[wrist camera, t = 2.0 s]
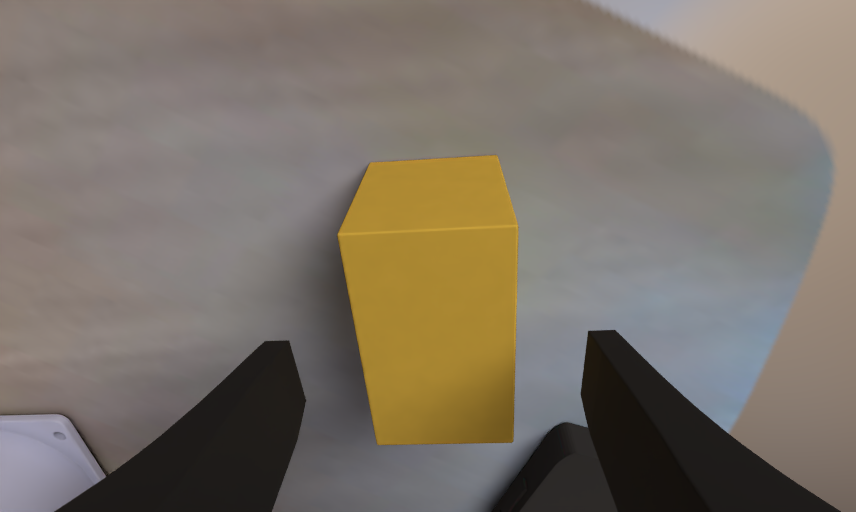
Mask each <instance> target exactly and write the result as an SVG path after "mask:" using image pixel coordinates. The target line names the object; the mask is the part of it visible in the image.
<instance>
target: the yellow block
mask: <svg viewBox="0 0 856 512" xmlns="http://www.w3.org/2000/svg"><path fill="white" fill-rule="evenodd" d="M337 237H338V242H339V247H340V253H341V258H342V263H343V268H344V274H345V279H346V284H347V289H348V295H349V300H350V305H351V310H352V316H353V321H354V326H355V331H356V337H357V342H358V347H359V352H360V358H361V363H362V368H363V373H364V379H365V384H366V389H367V395H368V400H369V405H370V410H371V416H372V421H373V426H374V431H375V437H376V442H377V445H407V444H463V443H512V442H513V437H514V394H515V351H516V307H517V264H518V223H517V220H516V217H515V213H514V210H513V207H512V203H511V200H510V197H509V193H508V190H507V186H506V183H505V180H504V176H503V173H502V170H501V166H500V163H499V160H498V156H497V155H490V156H473V157H457V158H440V159H424V160H407V161H391V162H374V163H370V164H369V166H368V168H367V170H366V173H365V175H364V177H363V179H362V181H361V184H360V186H359V188H358V190H357V192H356V195H355V197H354V199H353V201H352V203H351V206H350V208H349V210H348V212H347V214H346V217H345V219H344V221H343V223H342V225H341V228H340V230H339V232H338V234H337Z"/></svg>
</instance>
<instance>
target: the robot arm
mask: <svg viewBox="0 0 856 512" xmlns="http://www.w3.org/2000/svg"><path fill="white" fill-rule="evenodd" d="M581 398H582V402H583V407H584V411H585V416H586V420H587V424H588V428H589V432H590V436H591V439H592V442H593V445H594V447H595V450H596V453H597V456H598V459H599V461H600V464H601V467H602V470H603V472H604V475H605V478H606V481H607V483H608V486H609V489H610V492H611V494H612V497H613V500H614V503H615V505H616V508H617V511H618V512H841V511H839V510H838V509H836V508H834V507H833V506H831V505H830V504H828V503H826V502H825V501H823V500H822V499H820V498H819V497H817V496H816V495H814V494H813V493H811V492H809V491H808V490H807V489H805V488H803V487H802V486H800V485H798V484H797V483H796V482H794V481H793V480H791V479H790V478H788V477H787V476H785V475H784V474H782V473H781V472H780V471H778V470H777V469H775V468H774V467H773V466H771V465H770V464H768V463H767V462H766V461H764V460H763V459H762V458H760V457H759V456H757V455H756V454H755V453H753V452H752V451H751V450H749V449H748V448H746V447H745V446H744V445H742V444H741V443H740V442H738V441H737V440H736V439H734V438H733V437H732V436H731V435H729V434H728V433H727V432H726V431H724V430H723V429H722V428H721V427H719V426H718V425H717V424H716V423H715V422H713V421H712V420H711V419H710V418H709V417H707V416H706V415H705V414H704V413H703V412H701V411H700V410H699V409H698V408H697V407H696V406H694V405H693V404H692V403H691V402H690V401H689V400H688V399H686V398H685V397H684V396H683V395H682V394H681V393H680V392H679V391H678V390H677V389H676V388H674V387H673V386H672V385H671V384H670V383H669V382H668V381H667V380H666V379H665V378H664V377H663V376H662V375H660V374H659V373H658V372H657V371H656V370H655V369H654V368H653V367H652V366H651V365H650V364H649V363H648V362H647V361H646V360H645V359H644V358H643V357H642V356H641V355H640V354H639V353H638V352H637V351H636V350H635V349H634V348H633V347H632V346H631V345H630V344H629V343H628V342H627V341H626V340H625V339H624V338H623V337H622V336H621V335H620V334H619V333H618V332H616V331H615V330H602V331H588V337H587V346H586V354H585V362H584V371H583V379H582V388H581ZM305 403H306V399H305V395H304V392H303V388H302V385H301V381H300V378H299V374H298V370H297V367H296V363H295V360H294V356H293V353H292V349H291V346H290V342H289V341H265V342H264V343H263V344H261V345H260V346H259V347H258V348H257V349H256V350H255V351H254V352H253V353H252V354H251V355H249V356H248V357H247V358H246V359H245V360H244V361H243V362H242V363H241V364H240V365H239V366H238V367H237V368H236V369H235V370H234V371H233V372H232V373H231V374H230V375H228V376H227V377H226V378H225V379H224V380H223V381H222V382H221V383H220V384H219V385H218V386H217V387H216V388H215V389H213V390H212V391H211V392H210V393H209V394H208V395H207V396H206V397H205V398H204V399H203V400H202V401H200V402H199V403H198V404H197V405H196V406H195V407H194V408H192V409H191V410H190V411H189V412H188V413H187V414H185V415H184V416H183V417H182V418H181V419H180V420H178V421H177V422H176V423H175V424H174V425H173V426H171V427H170V428H169V429H168V430H167V431H166V432H164V433H163V434H162V435H161V436H160V437H158V438H157V439H156V440H155V441H153V442H152V443H151V444H150V445H148V446H147V447H146V448H145V449H143V450H142V451H141V452H139V453H138V454H137V455H135V456H134V457H133V458H131V459H130V460H129V461H127V462H126V463H125V464H123V465H122V466H121V467H119V468H118V469H117V470H115V471H114V472H112V473H111V474H110V475H108V476H107V477H106V475H105V474H104V472H103V471H102V469H101V468H100V466H99V465H98V463H97V461H96V460H95V458H94V457H93V455H92V454H91V452H90V451H89V449H88V447H87V446H86V444H85V443H84V441H83V440H82V438H81V437H80V435H79V434H78V432H77V430H76V429H75V427H74V426H73V424H72V423H71V421H70V420H69V419H68V418H67V417H65V416H63V415H60V414H40V415H0V512H272V509H273V506H274V503H275V501H276V498H277V495H278V492H279V490H280V487H281V484H282V481H283V479H284V476H285V473H286V470H287V468H288V465H289V462H290V459H291V456H292V454H293V451H294V448H295V445H296V442H297V439H298V435H299V430H300V426H301V422H302V417H303V412H304V408H305Z"/></svg>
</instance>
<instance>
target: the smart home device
mask: <svg viewBox="0 0 856 512" xmlns="http://www.w3.org/2000/svg"><path fill="white" fill-rule="evenodd" d="M492 512H618V511H617V508H616V505H615V503H614V500H613V497H612V494H611V492H610V489H609V486H608V483H607V481H606V478H605V475H604V472H603V470H602V467H601V464H600V461H599V459H598V456H597V453H596V450H595V447H594V445H593V442H592V439H591V436H590V432H589V428H586V427H582V426H579V425H575V424H572V423H563V424H561V425H559V426H557V427H556V428H555V429H553V430H552V431H551V432H550V433H549V434H548V435H547V437H546V438H545V439H544V441H543V442H542V443H541V445H540V446H539V448H538V449H537V450H536V452H535V453H534V454H533V456H532V457H531V459H530V460H529V461H528V463H527V464H526V465H525V467H524V468H523V470H522V471H521V472H520V474H519V475H518V476H517V478H516V479H515V481H514V482H513V483H512V485H511V486H510V487H509V489H508V490H507V492H506V493H505V494H504V496H503V497H502V498H501V500H500V501H499V503H498V504H497V505H496V507H495V508H494V509H493V511H492Z"/></svg>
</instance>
